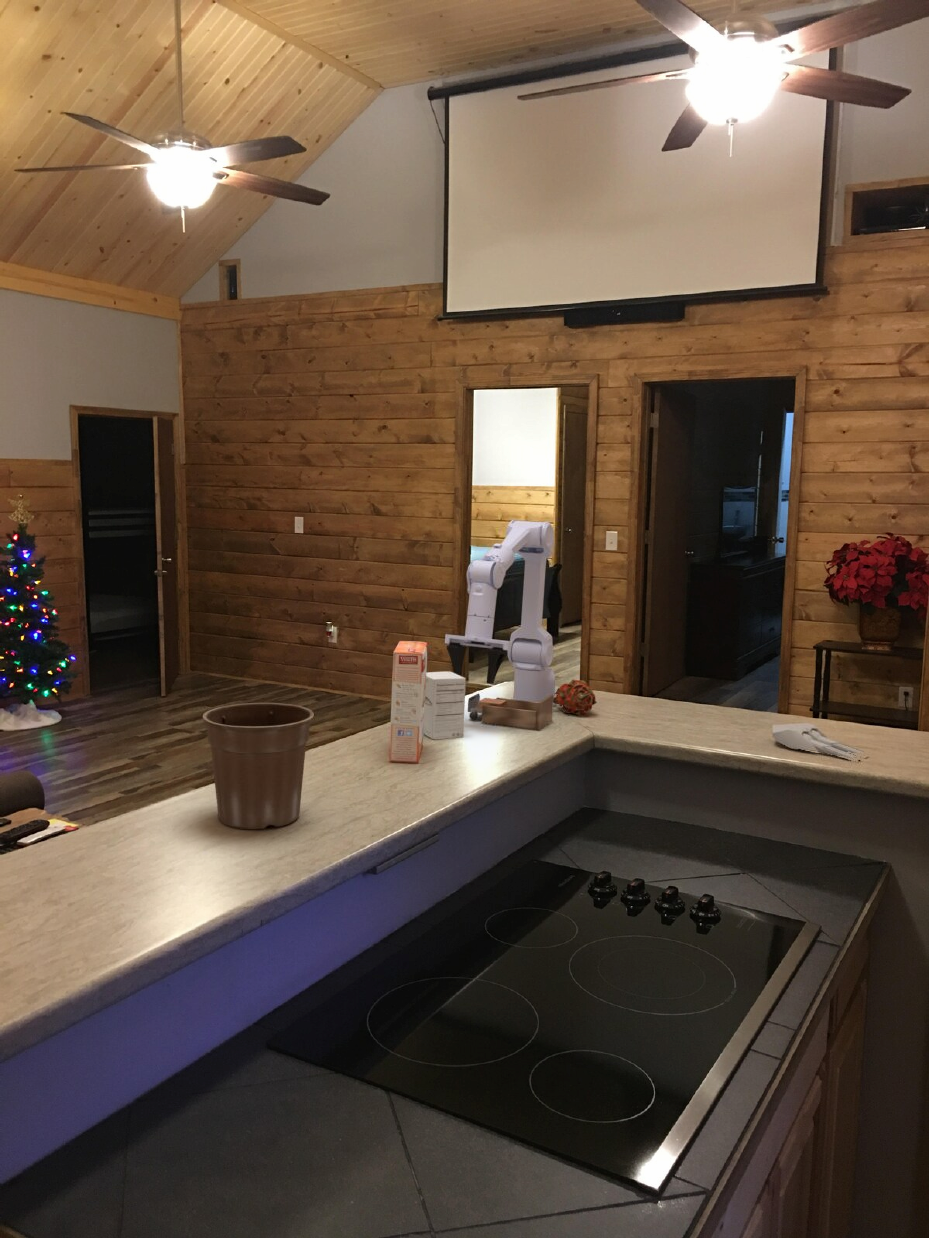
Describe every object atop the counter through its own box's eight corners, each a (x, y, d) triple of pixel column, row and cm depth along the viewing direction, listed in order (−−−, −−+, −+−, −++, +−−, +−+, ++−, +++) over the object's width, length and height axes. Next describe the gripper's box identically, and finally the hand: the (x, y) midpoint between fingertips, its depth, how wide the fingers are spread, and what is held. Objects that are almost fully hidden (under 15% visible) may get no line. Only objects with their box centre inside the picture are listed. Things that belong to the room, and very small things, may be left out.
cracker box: (420, 764, 185) (424, 652, 182) (388, 762, 185) (391, 650, 182) (425, 745, 199) (428, 640, 196) (394, 743, 199) (397, 639, 196)
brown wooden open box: (481, 723, 218) (482, 696, 218) (496, 714, 228) (497, 688, 227) (538, 730, 214) (540, 703, 213) (551, 721, 223) (553, 694, 222)
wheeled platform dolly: (466, 719, 221) (467, 698, 220) (477, 712, 228) (478, 692, 227) (498, 723, 218) (499, 702, 218) (509, 716, 225) (510, 696, 225)
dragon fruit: (589, 725, 227) (556, 722, 237) (611, 701, 231) (578, 698, 241) (570, 697, 224) (538, 695, 234) (593, 673, 228) (561, 671, 238)
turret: (850, 776, 197) (856, 753, 196) (759, 741, 209) (764, 720, 208) (869, 767, 204) (875, 745, 203) (780, 733, 217) (784, 713, 216)
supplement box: (417, 731, 209) (419, 672, 208) (449, 729, 212) (451, 670, 211) (431, 740, 203) (433, 678, 201) (464, 737, 206) (466, 677, 204)
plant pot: (184, 830, 145) (184, 721, 143) (225, 797, 161) (226, 699, 159) (293, 839, 143) (295, 729, 141) (324, 805, 159) (326, 705, 157)
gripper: (441, 612, 210) (434, 677, 210) (504, 618, 204) (497, 685, 204) (456, 615, 217) (449, 677, 217) (517, 621, 211) (510, 685, 210)
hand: (473, 681), depth 211 cm, fingers open, 7 cm apart
